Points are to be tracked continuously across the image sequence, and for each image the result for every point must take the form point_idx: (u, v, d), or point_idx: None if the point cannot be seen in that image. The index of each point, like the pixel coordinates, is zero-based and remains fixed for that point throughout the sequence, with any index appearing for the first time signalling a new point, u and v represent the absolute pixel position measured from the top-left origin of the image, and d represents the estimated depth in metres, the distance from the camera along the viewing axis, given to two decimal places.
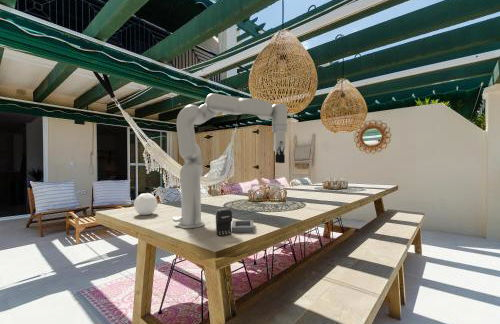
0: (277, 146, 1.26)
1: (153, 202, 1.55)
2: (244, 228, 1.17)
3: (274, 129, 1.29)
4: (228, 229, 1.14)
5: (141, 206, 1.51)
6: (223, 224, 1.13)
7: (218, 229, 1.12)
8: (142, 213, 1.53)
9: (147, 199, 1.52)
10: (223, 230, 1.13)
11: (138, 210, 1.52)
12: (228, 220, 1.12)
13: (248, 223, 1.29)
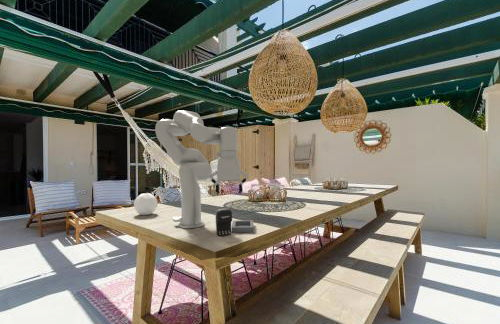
0: None
1: (153, 202, 1.55)
2: (244, 228, 1.17)
3: (233, 156, 1.13)
4: (228, 229, 1.14)
5: (141, 206, 1.51)
6: (223, 224, 1.13)
7: (218, 229, 1.12)
8: (142, 213, 1.53)
9: (147, 199, 1.52)
10: (223, 230, 1.13)
11: (138, 210, 1.52)
12: (228, 220, 1.12)
13: (248, 223, 1.29)
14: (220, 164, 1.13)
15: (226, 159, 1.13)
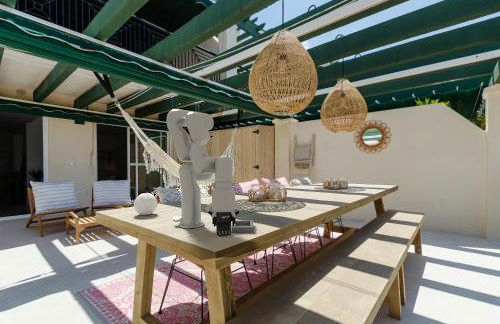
0: (235, 206, 1.12)
1: (153, 202, 1.55)
2: (244, 228, 1.17)
3: (228, 187, 1.10)
4: (228, 229, 1.14)
5: (141, 206, 1.51)
6: (223, 224, 1.13)
7: (218, 229, 1.12)
8: (142, 213, 1.53)
9: (147, 199, 1.52)
10: (223, 230, 1.13)
11: (138, 210, 1.52)
12: (228, 220, 1.12)
13: (248, 223, 1.29)
14: (214, 195, 1.11)
15: (221, 190, 1.10)
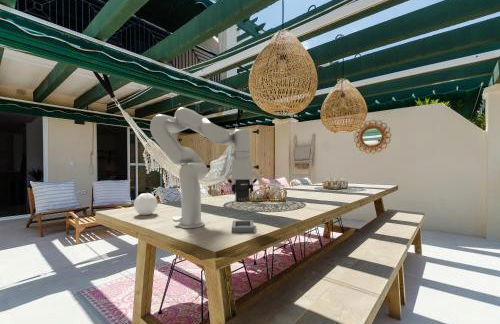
0: None
1: (153, 202, 1.55)
2: (244, 228, 1.17)
3: (247, 156, 1.20)
4: (246, 196, 1.24)
5: (141, 206, 1.51)
6: (242, 191, 1.23)
7: (237, 196, 1.22)
8: (142, 213, 1.53)
9: (147, 199, 1.52)
10: (242, 197, 1.23)
11: (138, 210, 1.52)
12: (246, 187, 1.22)
13: (248, 223, 1.29)
14: (234, 164, 1.21)
15: (240, 159, 1.20)
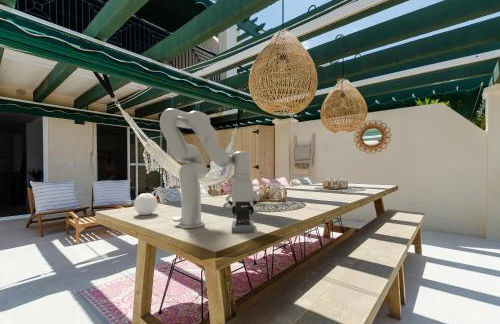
0: (253, 196, 1.22)
1: (153, 202, 1.55)
2: (244, 228, 1.17)
3: (247, 178, 1.20)
4: (247, 218, 1.24)
5: (141, 206, 1.51)
6: (242, 213, 1.23)
7: (238, 217, 1.22)
8: (142, 213, 1.53)
9: (147, 199, 1.52)
10: (242, 218, 1.23)
11: (138, 210, 1.52)
12: (247, 209, 1.22)
13: (248, 223, 1.29)
14: (234, 186, 1.21)
15: (240, 182, 1.21)
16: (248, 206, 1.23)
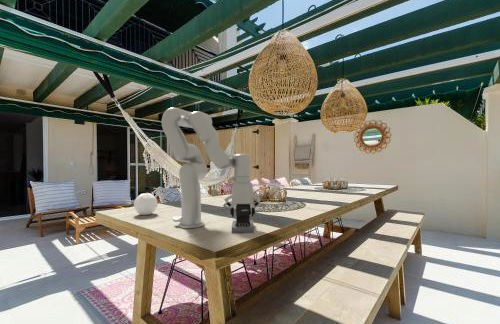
0: None
1: (153, 202, 1.55)
2: (244, 228, 1.17)
3: (247, 181, 1.20)
4: (247, 222, 1.24)
5: (141, 206, 1.51)
6: (242, 217, 1.23)
7: (238, 221, 1.23)
8: (142, 213, 1.53)
9: (147, 199, 1.52)
10: (242, 222, 1.23)
11: (138, 210, 1.52)
12: (247, 213, 1.22)
13: None
14: (234, 189, 1.21)
15: (240, 184, 1.21)
16: (248, 210, 1.23)
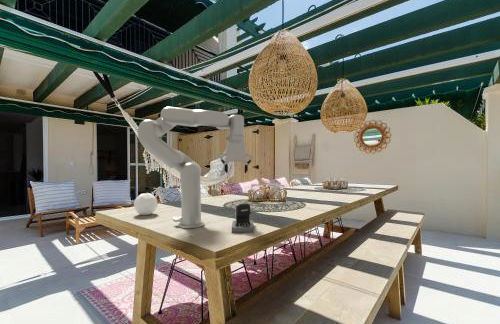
0: (245, 157, 1.31)
1: (153, 202, 1.55)
2: (244, 228, 1.17)
3: (240, 140, 1.30)
4: (247, 222, 1.24)
5: (141, 206, 1.51)
6: (242, 217, 1.23)
7: (238, 221, 1.23)
8: (142, 213, 1.53)
9: (147, 199, 1.52)
10: (242, 222, 1.23)
11: (138, 210, 1.52)
12: (247, 213, 1.22)
13: None
14: (228, 147, 1.31)
15: (234, 142, 1.31)
16: (248, 210, 1.23)
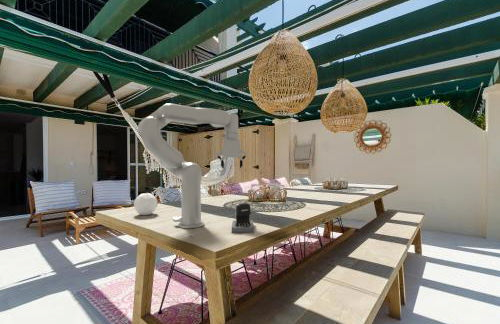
0: (240, 153, 1.41)
1: (153, 202, 1.55)
2: (244, 228, 1.17)
3: (235, 137, 1.40)
4: (247, 222, 1.24)
5: (141, 206, 1.51)
6: (242, 217, 1.23)
7: (238, 221, 1.23)
8: (142, 213, 1.53)
9: (147, 199, 1.52)
10: (242, 222, 1.23)
11: (138, 210, 1.52)
12: (247, 213, 1.22)
13: None
14: (224, 143, 1.40)
15: (229, 139, 1.40)
16: (248, 210, 1.23)
